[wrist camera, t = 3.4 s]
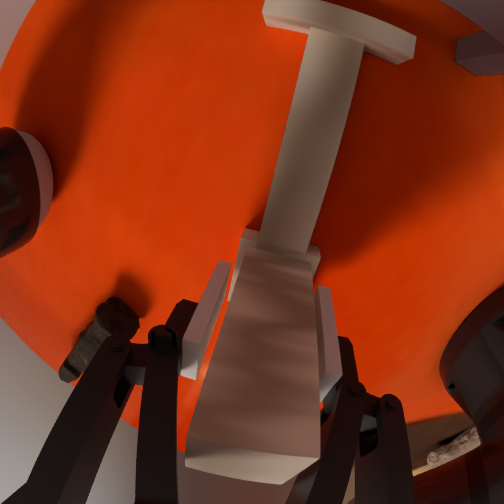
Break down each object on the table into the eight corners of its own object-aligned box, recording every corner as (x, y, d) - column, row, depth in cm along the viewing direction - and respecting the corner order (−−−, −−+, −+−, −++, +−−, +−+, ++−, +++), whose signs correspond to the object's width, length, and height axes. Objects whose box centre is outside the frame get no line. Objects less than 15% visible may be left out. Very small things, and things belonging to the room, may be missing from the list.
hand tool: (115, 287, 23) (87, 319, 19) (146, 318, 24) (123, 353, 20) (61, 346, 30) (44, 368, 26) (81, 365, 31) (66, 388, 27)
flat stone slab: (511, 395, 27) (424, 450, 32) (525, 423, 20) (433, 482, 25) (493, 431, 36) (426, 469, 41) (501, 452, 29) (432, 491, 34)
